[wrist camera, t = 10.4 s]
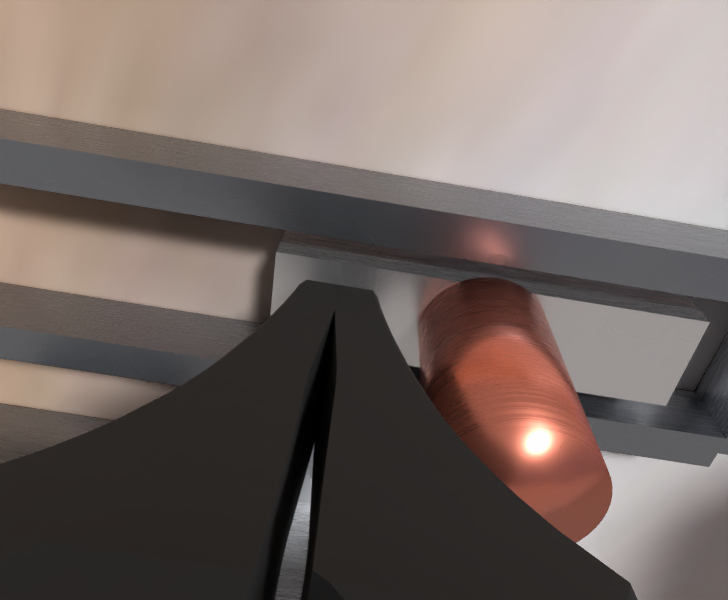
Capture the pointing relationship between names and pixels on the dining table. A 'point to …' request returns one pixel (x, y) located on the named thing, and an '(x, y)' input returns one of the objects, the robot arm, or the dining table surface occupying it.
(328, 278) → the lever
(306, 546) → the block
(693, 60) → the dining table surface
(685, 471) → the dining table surface
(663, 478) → the dining table surface
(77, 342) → the press
